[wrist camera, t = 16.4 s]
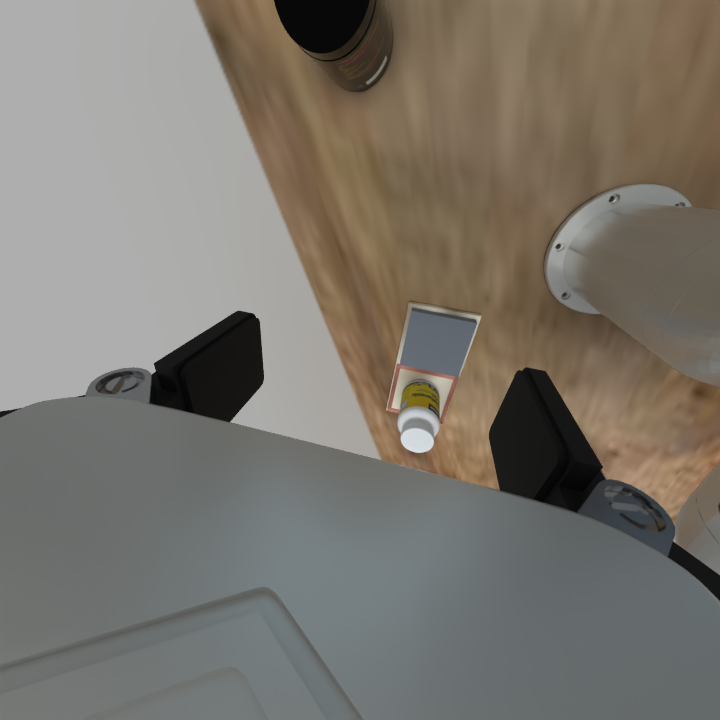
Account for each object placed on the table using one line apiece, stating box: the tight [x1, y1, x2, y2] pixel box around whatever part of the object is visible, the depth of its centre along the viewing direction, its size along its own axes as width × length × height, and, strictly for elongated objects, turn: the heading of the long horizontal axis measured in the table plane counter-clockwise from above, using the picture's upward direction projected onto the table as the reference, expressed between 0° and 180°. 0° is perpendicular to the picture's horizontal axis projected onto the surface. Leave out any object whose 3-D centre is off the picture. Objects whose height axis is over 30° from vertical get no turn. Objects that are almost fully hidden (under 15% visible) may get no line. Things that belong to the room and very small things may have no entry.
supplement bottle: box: [398, 380, 440, 453], centre depth 40 cm, size 5×5×10 cm
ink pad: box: [400, 308, 477, 377], centre depth 39 cm, size 8×8×1 cm
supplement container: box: [274, 0, 393, 91], centre depth 23 cm, size 7×7×10 cm
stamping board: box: [386, 301, 482, 424], centre depth 42 cm, size 9×18×1 cm, turn 173°
